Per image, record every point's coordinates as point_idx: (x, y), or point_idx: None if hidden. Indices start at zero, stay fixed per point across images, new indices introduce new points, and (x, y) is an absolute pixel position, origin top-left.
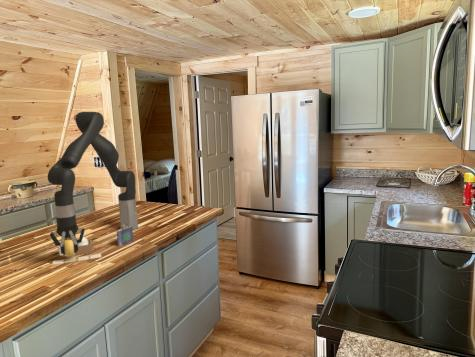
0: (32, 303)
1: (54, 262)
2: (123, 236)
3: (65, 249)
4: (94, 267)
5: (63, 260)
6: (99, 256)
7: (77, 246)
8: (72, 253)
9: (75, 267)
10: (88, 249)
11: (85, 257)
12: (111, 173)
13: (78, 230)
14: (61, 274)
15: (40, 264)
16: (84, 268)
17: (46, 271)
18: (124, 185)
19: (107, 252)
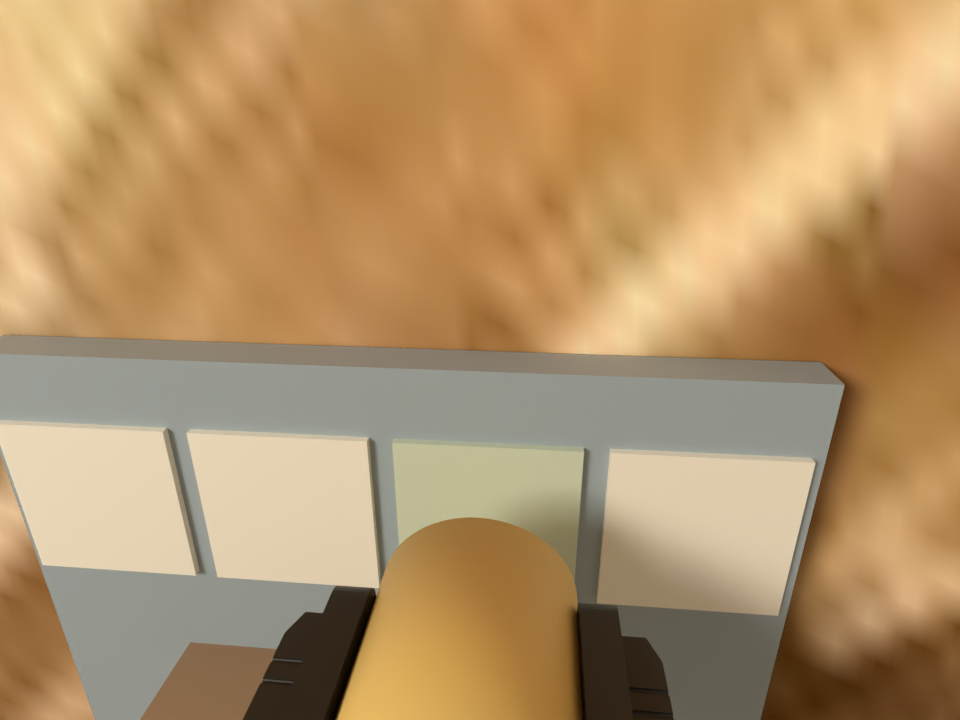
0: None
1: (760, 546)
2: None
3: (553, 689)
4: (57, 99)
5: (610, 561)
6: (28, 458)
7: (249, 716)
8: (413, 564)
9: (405, 268)
10: (204, 712)
11: (257, 520)
12: None
13: None
14: (644, 9)
15: (945, 649)
16: (235, 136)
17: (901, 318)
18: None
19: (33, 629)
